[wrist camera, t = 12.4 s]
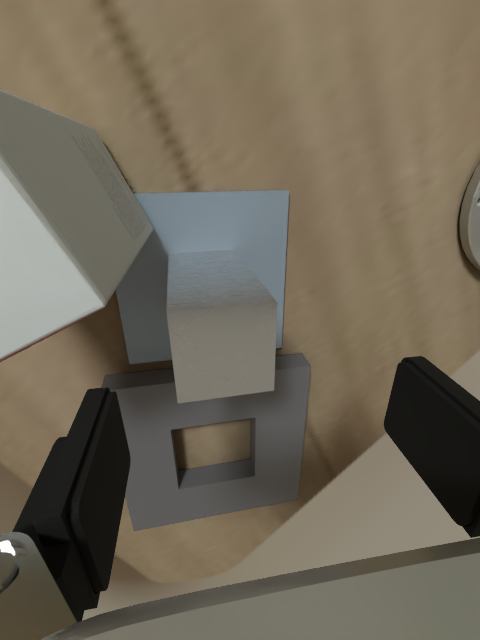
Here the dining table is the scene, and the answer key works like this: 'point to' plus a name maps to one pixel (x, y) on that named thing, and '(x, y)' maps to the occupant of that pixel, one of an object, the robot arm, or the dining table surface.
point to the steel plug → (219, 326)
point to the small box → (58, 223)
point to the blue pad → (192, 236)
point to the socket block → (221, 479)
